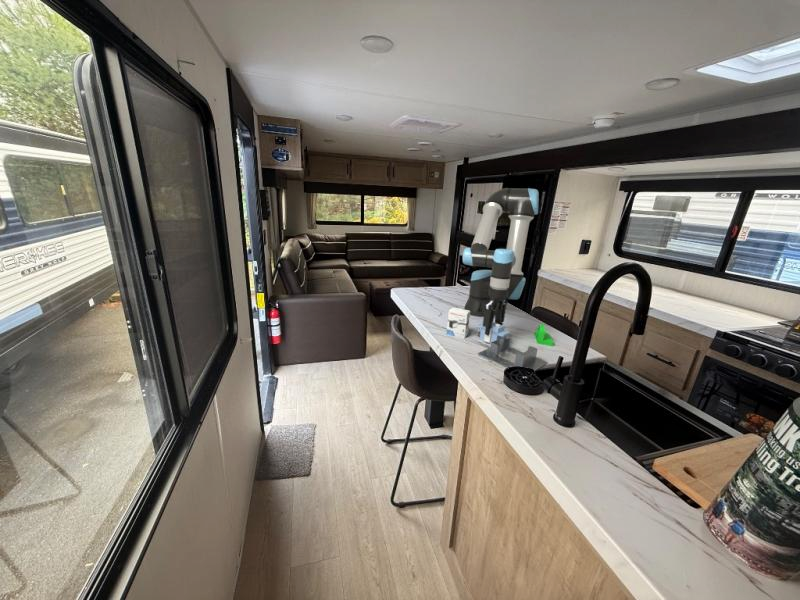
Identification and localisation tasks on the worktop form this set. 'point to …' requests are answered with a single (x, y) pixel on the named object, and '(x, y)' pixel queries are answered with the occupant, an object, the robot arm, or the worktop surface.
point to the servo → (493, 332)
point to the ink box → (458, 322)
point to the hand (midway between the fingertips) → (490, 339)
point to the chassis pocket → (512, 355)
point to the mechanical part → (543, 336)
